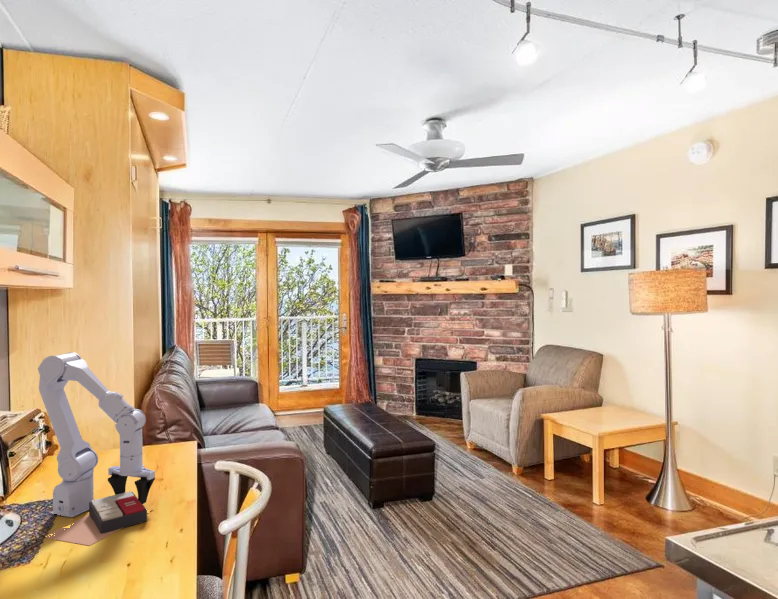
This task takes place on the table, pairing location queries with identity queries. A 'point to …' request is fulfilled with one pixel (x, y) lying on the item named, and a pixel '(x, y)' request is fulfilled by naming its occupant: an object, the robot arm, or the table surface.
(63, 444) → the robot arm
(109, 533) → the mat
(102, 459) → the table surface
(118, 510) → the black white red box
